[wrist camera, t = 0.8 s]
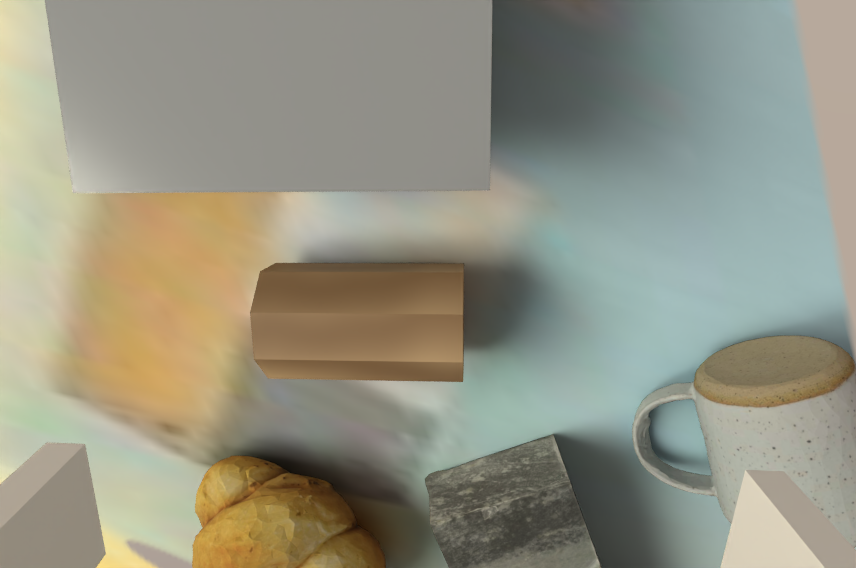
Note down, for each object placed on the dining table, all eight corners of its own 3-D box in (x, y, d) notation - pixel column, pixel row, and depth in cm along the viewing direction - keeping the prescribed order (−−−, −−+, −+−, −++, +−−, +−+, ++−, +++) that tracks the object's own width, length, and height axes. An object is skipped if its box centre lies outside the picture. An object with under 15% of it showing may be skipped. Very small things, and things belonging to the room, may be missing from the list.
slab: (486, 185, 24) (490, 190, 21) (126, 188, 25) (73, 193, 22) (491, -196, 21) (495, -264, 18) (81, -174, 22) (10, -234, 19)
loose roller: (463, 354, 32) (462, 395, 27) (291, 352, 33) (256, 391, 28) (464, 258, 31) (463, 279, 26) (285, 257, 32) (247, 278, 26)
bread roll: (181, 470, 35) (100, 559, 27) (312, 403, 34) (264, 477, 26) (290, 628, 37) (243, 753, 29) (418, 572, 36) (404, 688, 28)
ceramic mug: (801, 312, 30) (906, 365, 23) (836, 445, 32) (946, 534, 24) (607, 374, 32) (646, 441, 25) (649, 496, 34) (698, 595, 26)
